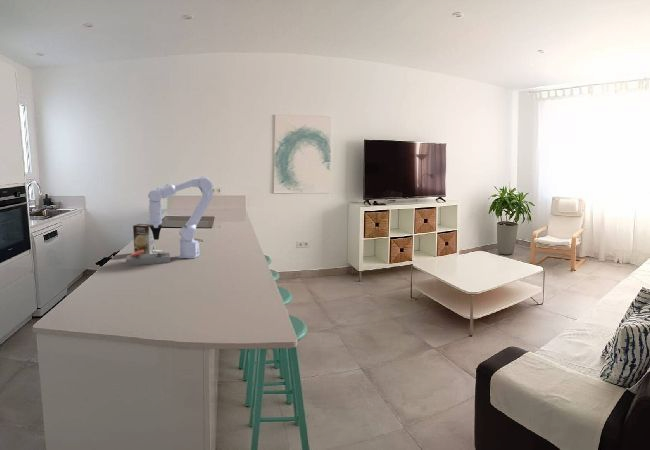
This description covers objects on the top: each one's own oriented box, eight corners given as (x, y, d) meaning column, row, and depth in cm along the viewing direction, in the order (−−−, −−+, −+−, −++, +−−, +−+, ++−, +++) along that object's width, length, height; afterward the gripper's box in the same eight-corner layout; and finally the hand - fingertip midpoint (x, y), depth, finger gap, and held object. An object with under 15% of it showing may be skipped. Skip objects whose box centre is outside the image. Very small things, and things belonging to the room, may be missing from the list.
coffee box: (133, 254, 217) (132, 225, 215) (140, 252, 224) (138, 223, 221) (149, 255, 216) (148, 226, 214) (155, 252, 223) (154, 224, 220)
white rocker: (164, 252, 209) (165, 250, 209) (165, 253, 206) (165, 251, 206) (152, 251, 206) (152, 249, 206) (152, 252, 203) (152, 250, 203)
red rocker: (144, 251, 205) (143, 249, 204) (143, 252, 202) (143, 250, 202) (131, 255, 203) (131, 253, 202) (131, 257, 200) (130, 255, 200)
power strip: (169, 258, 211) (169, 251, 210) (170, 262, 203) (170, 255, 202) (127, 261, 203) (126, 254, 203) (126, 265, 195) (125, 258, 194)
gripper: (146, 211, 210) (147, 237, 212) (146, 215, 197) (147, 242, 199) (161, 211, 213) (162, 236, 215) (162, 215, 200) (163, 241, 202)
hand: (156, 239), depth 207 cm, fingers closed
